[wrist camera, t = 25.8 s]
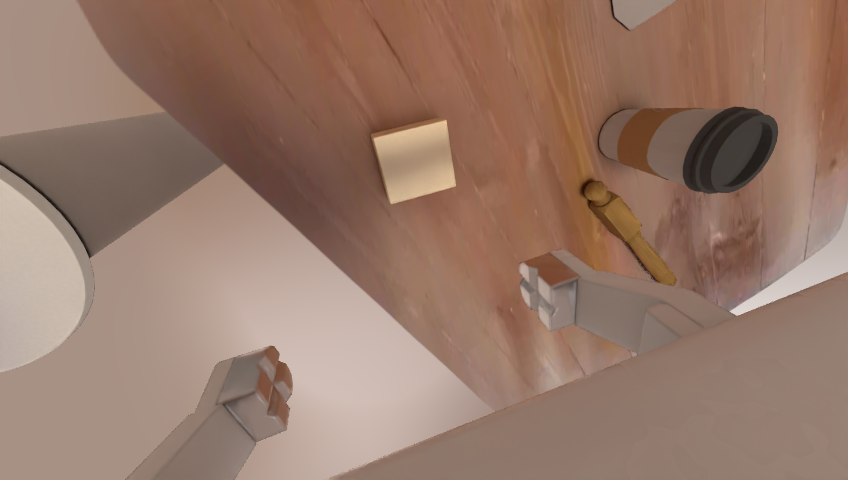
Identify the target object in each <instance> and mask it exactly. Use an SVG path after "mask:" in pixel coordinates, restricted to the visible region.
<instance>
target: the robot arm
mask: <svg viewBox="0 0 848 480" xmlns="http://www.w3.org/2000/svg"><path fill="white" fill-rule="evenodd" d="M519 273H520V274H521V275H522V276H523V279H522V280H521V282H520V290H521V294H522V297H523V299H524V301H525V303H526V304H527V305H528V307H529V308H530V309H531V310H534V311H537V312H538V316H539V319H540V320H541V322H542V323H543V324H544V325H545V326H546V327H547V328H548V329H549V331H550V332H553V331H556V330H559V329H562V328H565V327H568V326H571V325H574V324H575V325H576V326H578V327H580V328H582V329H585V330H587V331H589V332H591V333H593V334H596V335H598V336H600V337H602V338H604V339H606V340H609V341H611V342H613V343H615V344H617V345H619V346H622V347H624V348H626V349H628V350H630V351H633V352H635V353H637V356H635V357H633V358H630V359H628V360H625V361H623V362H620V363H618V364H615V365H613V366H610V367H607V368H605V369H602V370H600V371H597V372H595V373H592V374H590V375H587V376H585V377H582V378H580V379H577V380H575V381H572V382H570V383H567V384H565V385H562V386H560V387H557V388H555V389H552V390H550V391H547V392H545V393H542V394H540V395H537V396H535V397H532V398H530V399H527V400H525V401H522V402H520V403H517V404H515V405H512V406H510V407H507V408H504V409H502V410H499V411H497V412H494V413H492V414H489V415H487V416H484V417H482V418H479V419H477V420H475V421H472V422H469V423H467V424H464V425H462V426H459V427H457V428H454V429H452V430H449V431H447V432H444V433H442V434H439V435H437V436H434V437H431V438H429V439H426V440H424V441H421V442H419V443H416V444H414V445H411V446H409V447H406V448H404V449H401V450H399V451H396V452H394V453H391V454H388V455H386V456H383V457H381V458H378V459H376V460H373V461H371V462H368V463H366V464H363V465H361V466H358V467H356V468H353V469H351V470H348V471H346V472H343V473H341V474H338V475H336V476H333V477H331V478H328V479H325V480H848V272H846V273H844V274H841V275H839V276H836V277H834V278H831V279H829V280H826V281H824V282H821V283H819V284H816V285H814V286H811V287H809V288H806V289H804V290H801V291H799V292H796V293H794V294H792V295H789V296H787V297H784V298H781V299H779V300H776V301H774V302H772V303H769V304H766V305H764V306H761V307H759V308H756V309H754V310H751V311H749V312H746V313H744V314H741V315H739V316H736V315H734V314H732V313H731V312H729V311H727V310H725V309H724V308H722V307H720V306H718V305H717V304H715V303H713V302H711V301H710V300H708V299H706V298H705V297H703V296H701V295H699V294H698V293H696V292H694V291H692V290H689V289H684V288H679V287H675V286H670V285H666V284H661V283H657V282H652V281H647V280H643V279H638V278H634V277H629V276H624V275H620V274H615V273H611V272H606V271H599V272H597V271H595V270H594V269H592V268H591V267H590V266H588V265H587V264H585V263H584V262H582V261H581V260H580V259H578V258H577V257H575V256H574V255H572V254H571V253H570V252H568V251H567V250H565V249H562V248H560V249H557V250H554V251H551V252H549V253H547V254H544V255H541V256H538V257H535V258H532V259H529V260H526V261H524V262H521V263H520V265H519ZM278 359H279V352H278V351H277V350H276V348H275V347H274V346H268V347H265V348H262V349H258V350H255V351H252V352H249V353H246V354H242V355H239V356H237V357H233V358H230V359H227V360H224V361H221V362H219V363H218V364H217V365H216V366H215V367H214V370H213V372H212V374H211V376H210V379H209V381H208V383H207V386H206V388H205V390H204V392H203V395H202V397H201V399H200V402H199V404H198V406H197V408H196V411H195V413H193V414H190V415H188V416H187V417H186V418H185V419H184V420H183V421H182V422H181V423H180V424H179V425H178V426H177V428H175V429H174V430H173V431H172V433H171V434H170V435H169V436H168V437H167V438H166V439H165V440H164V441H163V442H162V443H161V444H160V445H159V446H158V447H157V448H156V449H155V450H154V451H153V452H152V453H151V454H150V455H149V456H148V457H147V458H146V459H145V460H144V461H143V462H142V463H141V464H140V465H139V466H138V467H137V468H136V469H135V470H134V471H133V472H132V473H131V474H130V475H129V476H128V477H127V478H126V479H125V480H235V478H236V477H237V475H238V473H239V472H240V470H241V469H242V467H243V465H244V463H245V462H246V460H247V459H248V457H249V455H250V454H251V452H252V450H253V449H254V447H255V446H256V442H258V441H261V440H263V439H266V438H268V437H270V436H273V435H276V434H278V433H281V432H283V431H286V430H287V424H288V417H289V411H290V408H289V406H288V405H287V404H286V402H287V400H288V399H289V398H290V396H291V395H292V388H293V383H292V375H291V373H290V370H289V368H288V366H287V365H286V364H285V363H283V362H280V361H278Z"/></svg>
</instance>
